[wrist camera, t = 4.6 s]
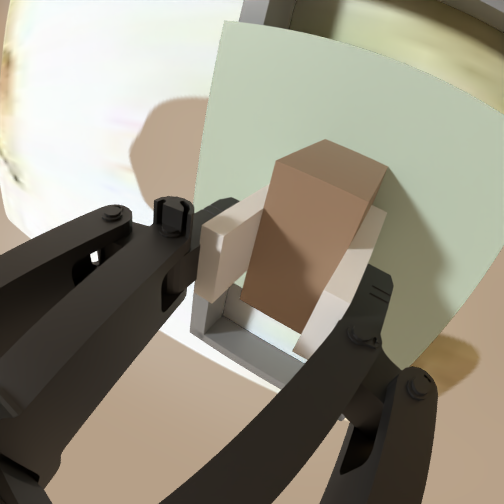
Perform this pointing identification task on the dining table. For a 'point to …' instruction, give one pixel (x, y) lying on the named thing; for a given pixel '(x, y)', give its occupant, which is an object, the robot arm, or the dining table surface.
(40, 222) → the dining table surface
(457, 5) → the rectangular frame
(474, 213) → the sliding cover
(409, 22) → the dining table surface
